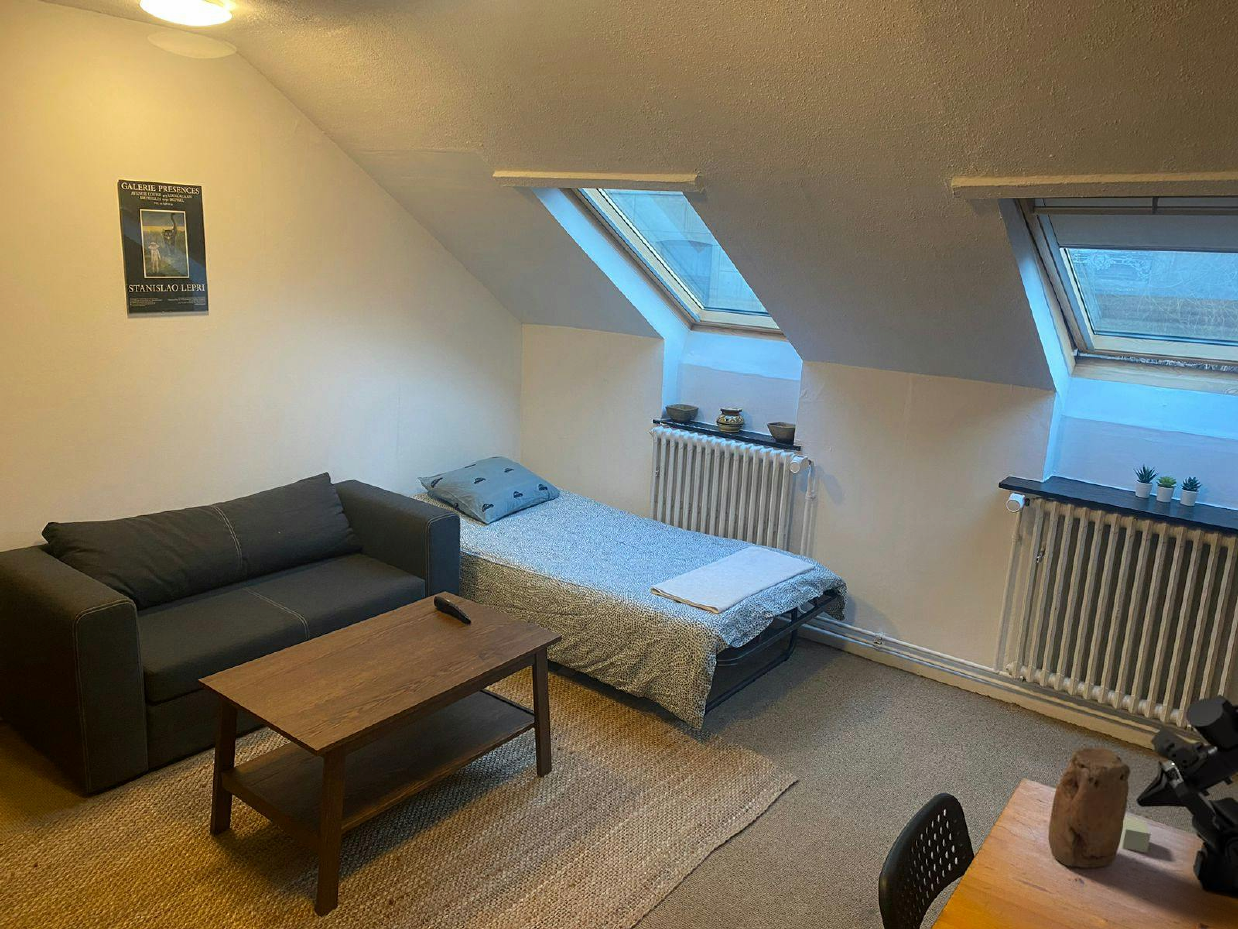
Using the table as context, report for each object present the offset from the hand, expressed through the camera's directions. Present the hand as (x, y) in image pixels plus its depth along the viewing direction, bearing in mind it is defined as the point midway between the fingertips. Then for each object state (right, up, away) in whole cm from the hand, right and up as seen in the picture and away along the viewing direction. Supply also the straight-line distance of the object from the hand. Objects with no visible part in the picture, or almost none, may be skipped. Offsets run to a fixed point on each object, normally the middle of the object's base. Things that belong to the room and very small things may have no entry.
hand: (1138, 803), depth 158 cm
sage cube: (+4, -11, +9) cm, 15 cm away
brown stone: (-8, -12, +5) cm, 15 cm away
